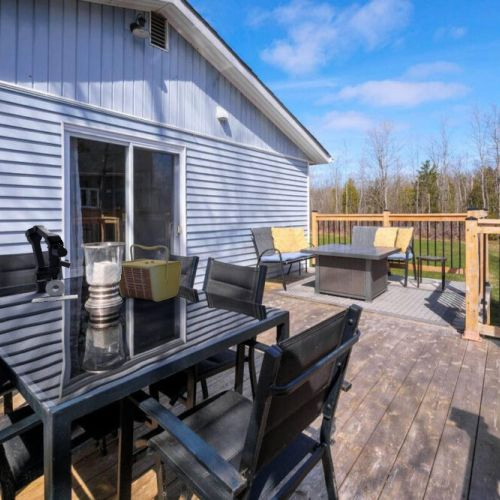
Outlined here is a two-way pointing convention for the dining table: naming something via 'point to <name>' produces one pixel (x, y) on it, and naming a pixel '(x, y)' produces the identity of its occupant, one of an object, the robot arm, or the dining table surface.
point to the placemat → (55, 298)
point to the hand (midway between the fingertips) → (55, 282)
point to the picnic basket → (150, 277)
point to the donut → (58, 292)
